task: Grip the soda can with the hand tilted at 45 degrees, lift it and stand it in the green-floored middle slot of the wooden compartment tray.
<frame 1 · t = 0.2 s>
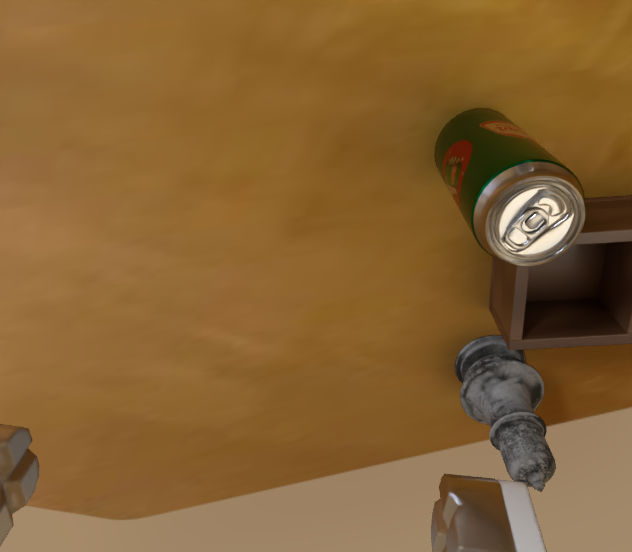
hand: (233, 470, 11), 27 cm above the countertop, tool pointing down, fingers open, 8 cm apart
soda can: (473, 146, 35), on the countertop
grey stacked stone piece: (489, 362, 43), on the countertop
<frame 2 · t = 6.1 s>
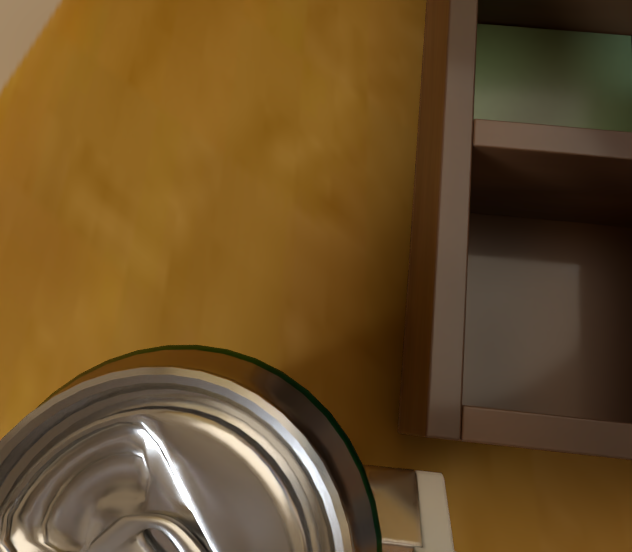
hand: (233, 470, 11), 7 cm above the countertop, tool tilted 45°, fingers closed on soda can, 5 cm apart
soda can: (265, 473, 17), on the countertop, touching gripper
wooden compartment tray: (532, 119, 20), on the countertop
when the fingers open (7 cm above the countertop, at t = 15.5 s): soda can stays where it is, resting on wooden compartment tray.
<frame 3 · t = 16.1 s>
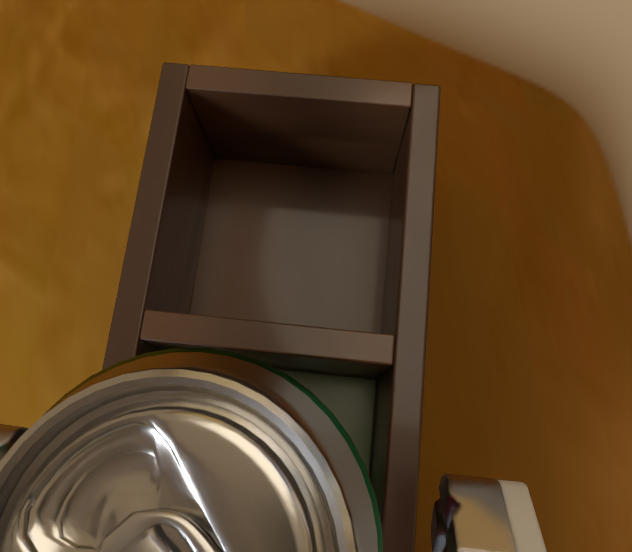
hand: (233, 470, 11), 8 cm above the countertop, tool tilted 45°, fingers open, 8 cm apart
soda can: (267, 472, 18), point 1 cm above the countertop, touching wooden compartment tray
wooden compartment tray: (268, 470, 18), on the countertop
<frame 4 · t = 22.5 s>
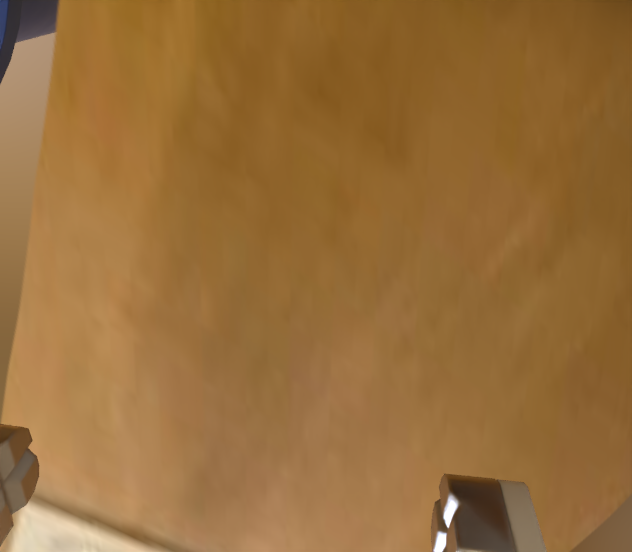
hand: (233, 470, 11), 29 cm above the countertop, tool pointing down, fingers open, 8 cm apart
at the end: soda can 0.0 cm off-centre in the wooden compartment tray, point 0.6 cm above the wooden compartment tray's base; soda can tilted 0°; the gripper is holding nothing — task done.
